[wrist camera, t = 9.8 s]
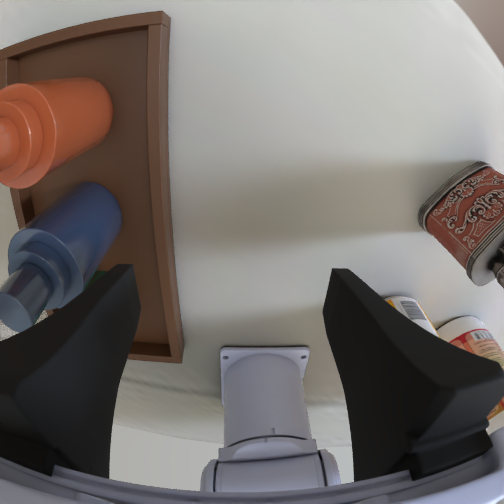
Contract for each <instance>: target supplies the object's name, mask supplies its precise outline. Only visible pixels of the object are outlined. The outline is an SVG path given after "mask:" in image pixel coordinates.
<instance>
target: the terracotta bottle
mask: <svg viewBox="0 0 504 504" xmlns="http://www.w3.org/2000/svg"><path fill="white" fill-rule="evenodd" d="M112 120H113V104H112V100H111V97H110V94H109V92H108V91H107V89H106V88H105V87H104V86H103V85H102V84H101V83H100V82H99V81H97V80H95V79H93V78H90V77H68V78H56V79H47V80H38V81H30V82H23V83H17V84H12V85H9V86H7V87H5V88H3V89H2V90H0V182H1V183H2V184H4V185H6V186H8V187H11V188H15V189H23V188H28V187H31V186H33V185H34V184H36V183H38V182H39V181H41V180H42V179H44V178H45V177H47V176H48V175H50V174H51V173H53V172H54V171H56V170H58V169H59V168H61V167H62V166H64V165H66V164H67V163H69V162H70V161H72V160H74V159H75V158H77V157H79V156H80V155H82V154H84V153H86V152H87V151H89V150H91V149H93V148H94V147H96V146H97V145H98V144H100V143H101V142H102V141H103V139H104V138H105V137H106V135H107V134H108V132H109V130H110V127H111V124H112Z"/></svg>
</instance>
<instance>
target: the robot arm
mask: <svg viewBox="0 0 504 504" xmlns="http://www.w3.org/2000/svg"><path fill="white" fill-rule="evenodd" d="M140 312H141V304H140V299H139V294H138V289H137V283H136V278H135V272H134V266H133V264H117V265H115V266H114V267H112V268H111V269H110V270H109V271H107V272H106V273H105V274H104V275H102V276H101V277H100V278H99V279H98V280H96V281H95V282H94V283H93V284H91V285H90V286H89V287H88V288H87V289H85V290H84V291H83V292H82V293H80V294H79V295H78V296H76V297H75V298H74V299H72V300H71V301H70V302H68V303H67V304H66V305H65V306H63V307H62V308H60V309H59V310H58V311H56V312H55V313H53V314H52V315H50V316H48V317H47V318H45V319H44V320H42V321H40V322H39V323H37V324H35V325H33V326H31V327H29V328H28V329H26V330H24V331H22V332H20V333H18V334H16V335H14V336H12V337H10V338H8V339H5V340H3V341H0V504H496V503H498V502H500V501H501V500H503V499H504V427H502V428H500V429H498V430H496V431H494V432H493V433H491V434H490V435H488V433H487V431H486V428H488V427H489V424H490V423H489V421H488V419H487V416H488V414H489V413H490V412H491V411H492V410H493V409H494V408H495V407H496V405H497V404H498V403H499V402H500V401H501V400H502V398H503V397H504V370H503V369H502V367H501V365H500V364H499V362H497V361H494V360H491V359H488V358H485V357H482V356H479V355H476V354H473V353H471V352H468V351H466V350H464V349H461V348H459V347H457V346H455V345H453V344H451V343H449V342H447V341H445V340H443V339H441V338H439V337H437V336H436V335H434V334H432V333H430V332H429V331H427V330H425V329H424V328H422V327H421V326H419V325H418V324H416V323H415V322H413V321H412V320H410V319H409V318H407V317H406V316H405V315H403V314H402V313H401V312H399V311H398V310H397V309H395V308H394V307H393V306H392V305H390V304H389V303H388V302H387V301H385V300H384V299H383V298H382V297H381V296H380V295H378V294H377V293H376V292H375V291H374V290H373V289H371V288H370V287H369V286H368V285H367V284H366V283H365V282H363V281H362V280H361V279H360V278H359V277H358V276H356V275H355V274H354V273H353V272H352V271H350V270H349V269H338V268H332V272H331V276H330V281H329V286H328V290H327V294H326V299H325V303H324V308H323V317H324V323H325V328H326V334H327V337H328V340H329V344H330V347H331V350H332V353H333V356H334V359H335V362H336V365H337V369H338V372H339V375H340V378H341V381H342V385H343V389H344V393H345V399H346V404H347V410H348V417H349V424H350V431H351V440H352V451H353V467H354V482H352V483H346V484H341V480H340V475H339V470H338V466H337V462H336V460H335V457H334V456H333V455H332V454H331V453H330V452H328V451H327V450H326V449H321V450H317V444H316V440H315V439H312V436H311V430H310V424H309V419H308V413H307V407H306V401H305V396H304V390H303V385H302V381H303V377H304V374H305V370H306V366H307V362H308V358H309V355H310V350H309V348H307V347H282V348H235V347H224V348H222V349H221V350H220V365H221V393H222V405H223V406H225V407H224V448H219V458H218V460H217V459H213V460H211V461H210V462H209V463H208V465H207V466H206V467H205V468H204V470H203V472H202V476H201V487H200V491H189V490H177V489H168V488H160V487H152V486H145V485H139V484H132V483H127V482H121V481H116V480H111V479H109V462H110V444H111V433H112V424H113V416H114V409H115V403H116V398H117V392H118V387H119V383H120V379H121V376H122V373H123V370H124V367H125V364H126V361H127V358H128V355H129V352H130V349H131V346H132V343H133V340H134V337H135V334H136V331H137V327H138V322H139V317H140ZM303 355H304V356H303Z"/></svg>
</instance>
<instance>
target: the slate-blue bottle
mask: <svg viewBox="0 0 504 504" xmlns="http://www.w3.org/2000/svg"><path fill="white" fill-rule="evenodd" d="M122 223H123V217H122V211H121V208H120V205H119V203H118V201H117V199H116V198H115V197H114V195H113V194H112V193H111V192H110V191H109V190H108V189H106V188H105V187H103V186H102V185H100V184H97V183H94V182H80V183H77V184H75V185H73V186H71V187H70V188H69V189H67V190H66V191H65V192H64V193H62V194H61V195H60V196H59V197H57V198H56V199H55V200H54V201H53V202H51V203H50V204H49V205H48V206H47V207H45V208H44V209H43V210H42V211H41V212H40V213H38V214H37V215H36V216H35V217H34V218H33V219H32V220H30V221H29V222H28V223H27V224H26V225H25V226H24V227H23V228H22V229H20V230H19V231H18V232H17V233H16V234H15V235H14V236H13V238H12V240H11V242H10V244H9V249H8V260H9V265H8V273H9V278H8V279H7V280H6V281H5V282H4V284H3V285H2V286H1V287H0V320H1V321H2V322H3V323H4V324H5V325H6V326H8V327H9V328H10V329H12V330H14V331H16V332H19V333H20V332H22V331H24V330H26V329H28V328H29V327H31V326H33V325H35V323H36V321H37V320H38V318H39V317H40V315H41V313H42V312H43V310H52V309H55V308H62V307H63V306H65V305H66V304H67V303H68V302H70V301H71V300H72V299H74V298H75V297H76V296H78V295H79V294H80V293H82V292H83V291H84V290H85V288H86V287H87V285H88V283H89V282H90V280H91V278H92V277H93V275H94V273H95V272H96V270H97V268H98V267H99V265H100V264H101V262H102V260H103V259H104V257H105V256H106V254H107V253H108V251H109V249H110V248H111V246H112V245H113V243H114V242H115V240H116V239H117V237H118V236H119V234H120V232H121V229H122Z"/></svg>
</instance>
